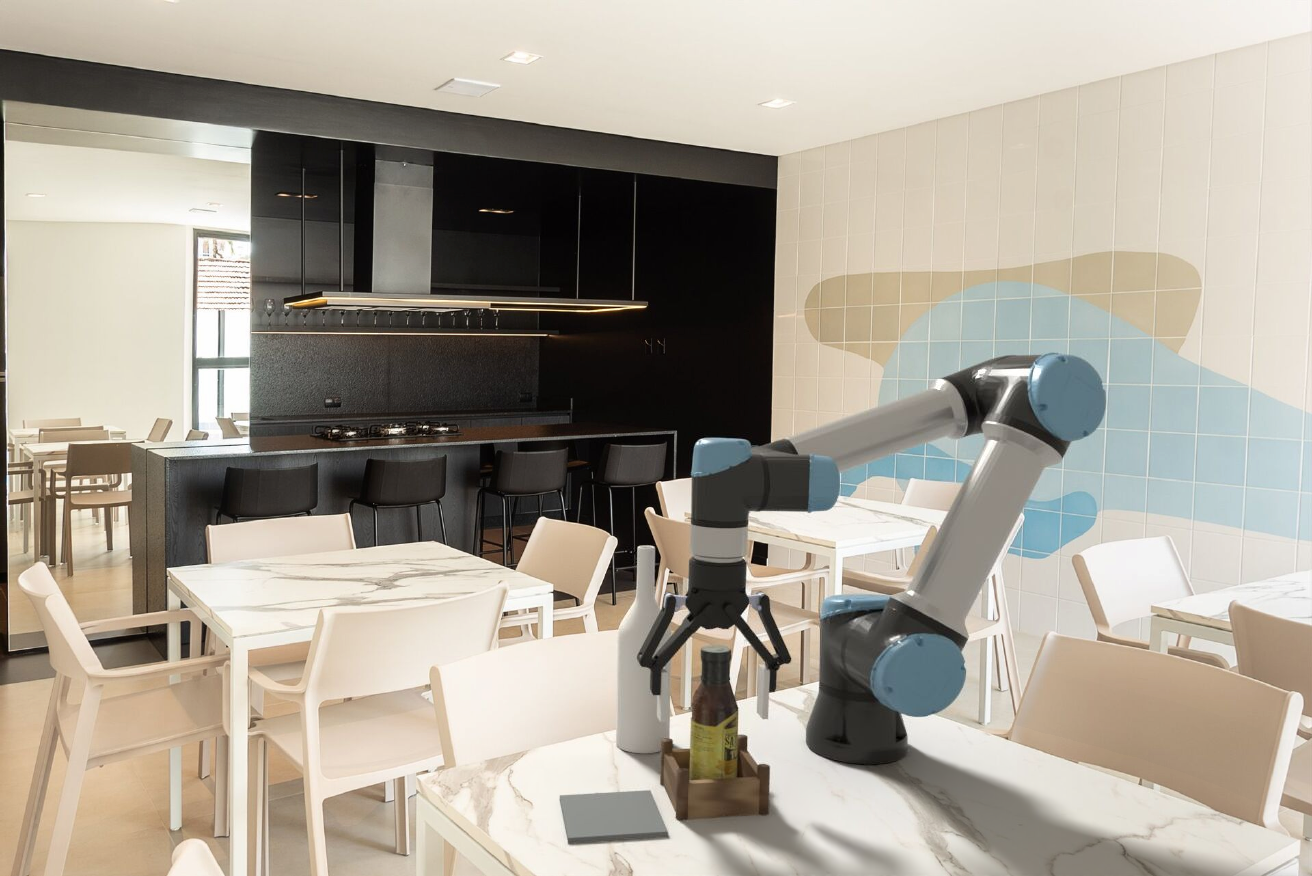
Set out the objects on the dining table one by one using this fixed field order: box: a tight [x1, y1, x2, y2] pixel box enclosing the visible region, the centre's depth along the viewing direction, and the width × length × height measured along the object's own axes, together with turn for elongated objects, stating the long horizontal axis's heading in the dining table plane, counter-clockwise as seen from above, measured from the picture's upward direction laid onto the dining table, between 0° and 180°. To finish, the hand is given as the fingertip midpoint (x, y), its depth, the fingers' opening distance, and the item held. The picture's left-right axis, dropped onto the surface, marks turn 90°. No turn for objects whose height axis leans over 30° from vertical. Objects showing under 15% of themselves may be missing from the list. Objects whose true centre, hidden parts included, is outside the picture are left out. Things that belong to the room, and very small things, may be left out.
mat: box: [559, 789, 669, 844], centre depth 122 cm, size 12×12×1 cm
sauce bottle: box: [689, 644, 739, 780], centre depth 128 cm, size 7×6×20 cm
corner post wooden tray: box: [659, 734, 771, 821], centre depth 129 cm, size 12×12×6 cm
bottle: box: [615, 545, 672, 754], centre depth 146 cm, size 8×8×30 cm
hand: (712, 717), depth 128 cm, fingers open, 13 cm apart
